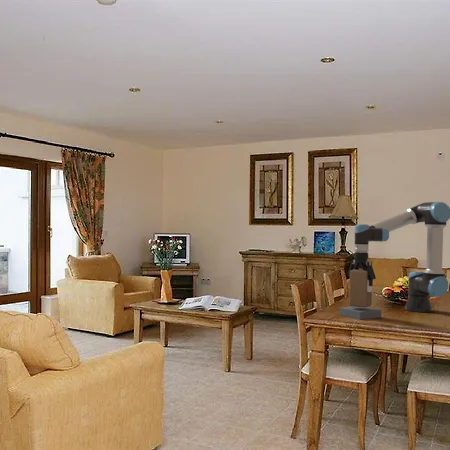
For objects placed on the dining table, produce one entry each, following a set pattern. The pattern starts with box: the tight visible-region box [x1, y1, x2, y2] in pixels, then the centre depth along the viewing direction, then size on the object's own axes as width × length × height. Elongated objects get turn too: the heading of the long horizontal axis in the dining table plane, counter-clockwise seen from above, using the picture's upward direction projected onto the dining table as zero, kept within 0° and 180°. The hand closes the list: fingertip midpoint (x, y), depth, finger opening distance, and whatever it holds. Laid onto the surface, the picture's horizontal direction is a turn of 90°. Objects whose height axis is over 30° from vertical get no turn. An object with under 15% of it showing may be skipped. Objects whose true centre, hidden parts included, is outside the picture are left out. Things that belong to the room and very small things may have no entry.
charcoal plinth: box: [338, 306, 383, 321], centre depth 290 cm, size 16×16×4 cm
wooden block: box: [348, 269, 373, 308], centre depth 290 cm, size 10×10×20 cm
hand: (360, 290), depth 290 cm, fingers closed on wooden block, 13 cm apart
